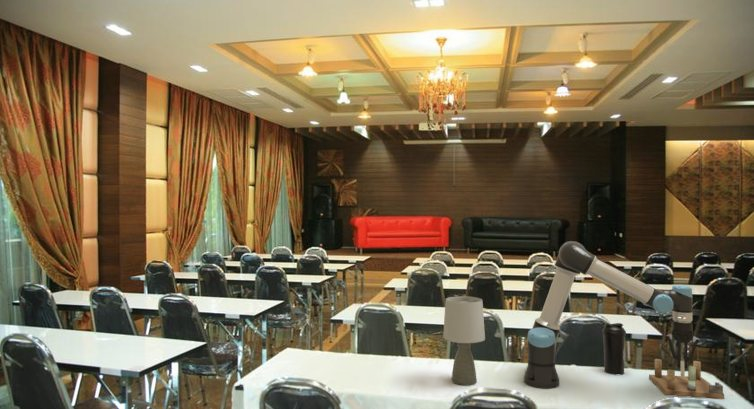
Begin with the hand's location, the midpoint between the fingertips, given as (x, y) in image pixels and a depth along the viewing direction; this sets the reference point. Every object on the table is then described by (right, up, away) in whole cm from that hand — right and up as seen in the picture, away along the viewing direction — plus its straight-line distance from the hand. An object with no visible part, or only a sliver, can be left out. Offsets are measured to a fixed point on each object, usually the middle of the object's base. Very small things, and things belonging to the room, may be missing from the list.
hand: (682, 375), depth 231 cm
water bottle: (-20, -6, +22) cm, 30 cm away
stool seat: (0, -5, -1) cm, 5 cm away
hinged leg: (+1, -3, -5) cm, 6 cm away
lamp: (-94, -6, +9) cm, 94 cm away
